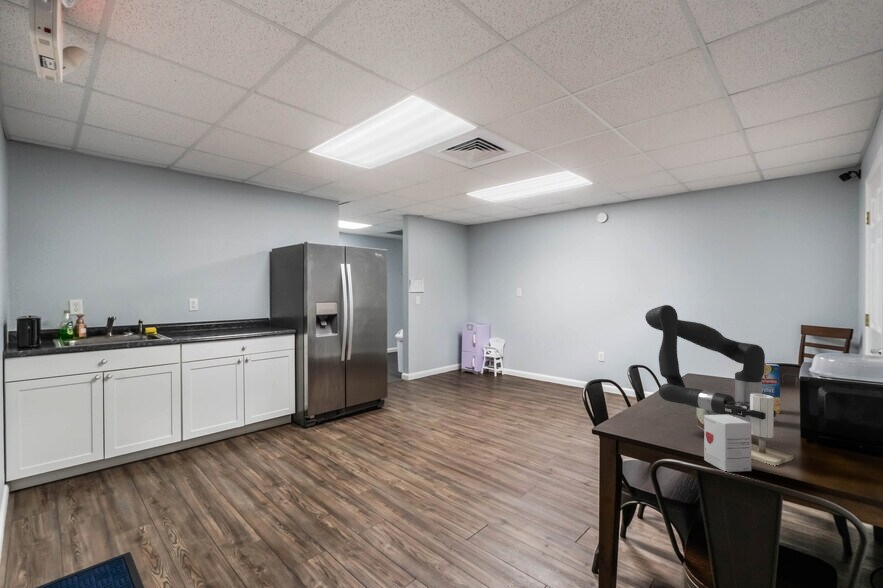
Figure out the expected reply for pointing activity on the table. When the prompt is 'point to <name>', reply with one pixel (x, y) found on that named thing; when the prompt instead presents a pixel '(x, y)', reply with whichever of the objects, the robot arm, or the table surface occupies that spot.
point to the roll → (767, 406)
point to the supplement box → (727, 442)
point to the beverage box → (772, 383)
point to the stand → (768, 454)
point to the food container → (702, 416)
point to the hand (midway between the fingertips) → (770, 415)
